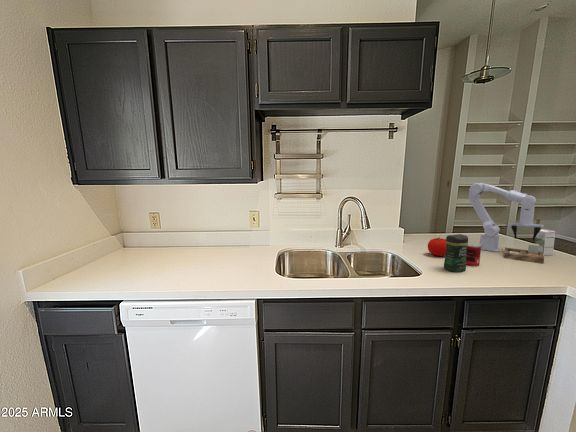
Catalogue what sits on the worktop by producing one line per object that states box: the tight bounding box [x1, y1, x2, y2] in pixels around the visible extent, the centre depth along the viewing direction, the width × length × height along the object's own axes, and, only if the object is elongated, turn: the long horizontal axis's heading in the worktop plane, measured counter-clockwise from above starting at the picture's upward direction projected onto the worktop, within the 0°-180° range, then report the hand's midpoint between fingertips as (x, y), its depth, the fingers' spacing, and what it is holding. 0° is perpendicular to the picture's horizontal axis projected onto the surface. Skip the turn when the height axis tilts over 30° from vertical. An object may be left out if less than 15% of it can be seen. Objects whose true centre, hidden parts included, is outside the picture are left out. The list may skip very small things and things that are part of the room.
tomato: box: [427, 236, 446, 257], centre depth 150 cm, size 12×12×11 cm
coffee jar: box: [443, 233, 469, 273], centre depth 126 cm, size 10×8×19 cm
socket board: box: [503, 247, 545, 264], centre depth 141 cm, size 16×14×3 cm
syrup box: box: [534, 228, 556, 256], centre depth 145 cm, size 6×6×14 cm
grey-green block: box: [527, 242, 539, 255], centre depth 140 cm, size 4×4×8 cm
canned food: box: [466, 242, 482, 267], centre depth 134 cm, size 8×8×11 cm
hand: (524, 239), depth 145 cm, fingers open, 7 cm apart
